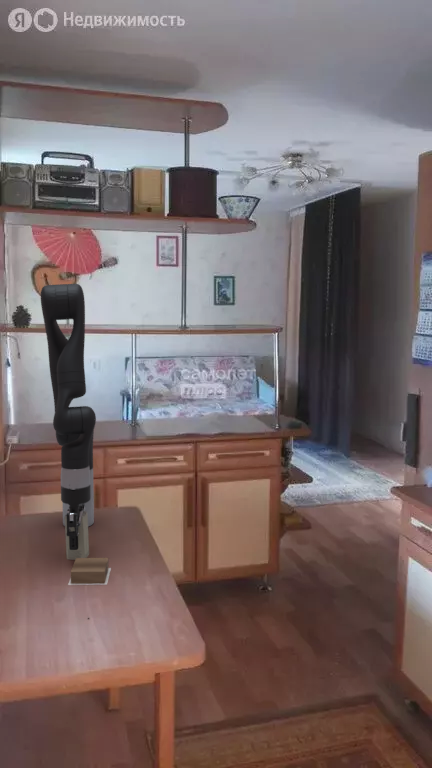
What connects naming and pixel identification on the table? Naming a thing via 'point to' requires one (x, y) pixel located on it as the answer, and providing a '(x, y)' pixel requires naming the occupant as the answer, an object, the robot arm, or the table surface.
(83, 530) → the box
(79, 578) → the base block
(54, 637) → the table surface
